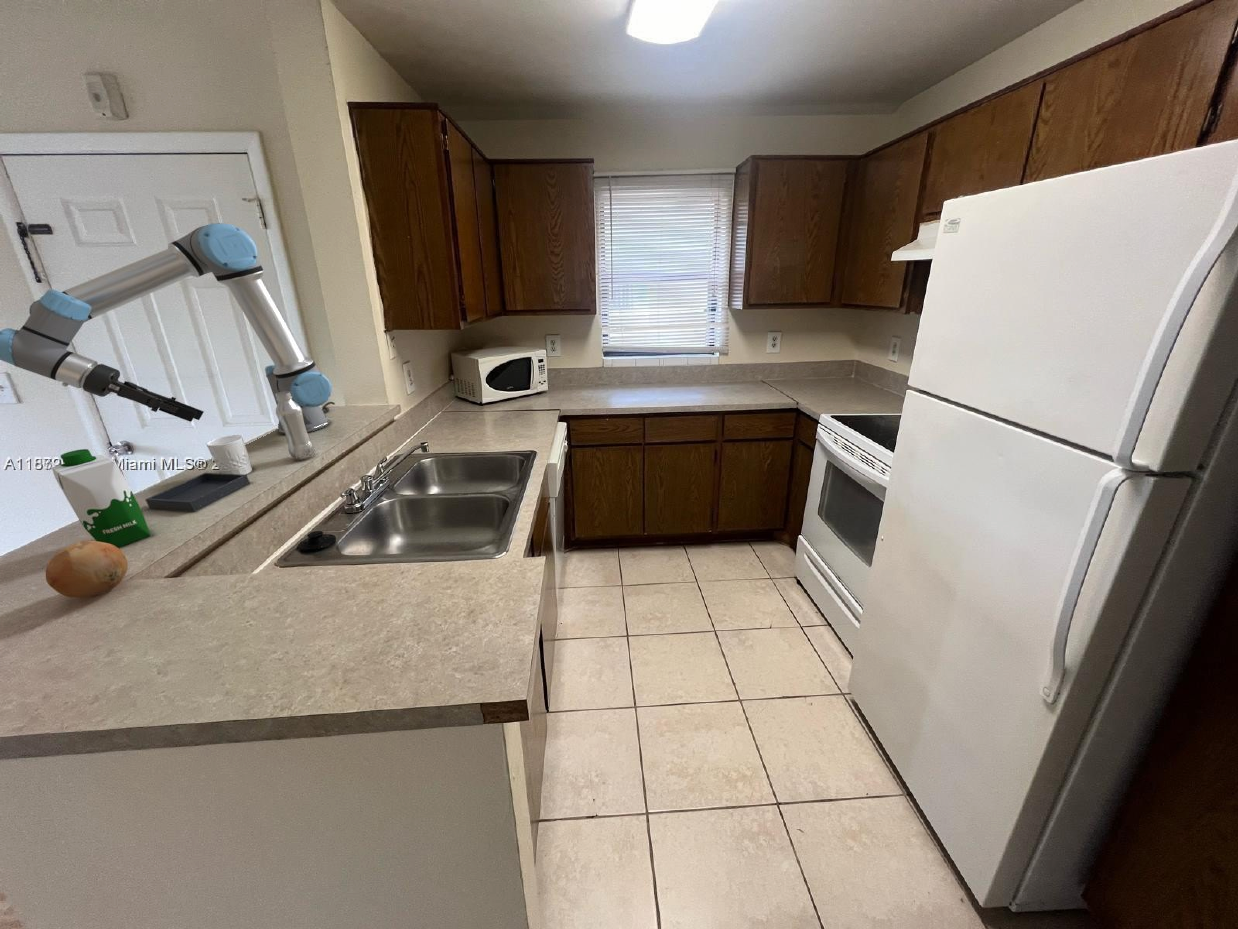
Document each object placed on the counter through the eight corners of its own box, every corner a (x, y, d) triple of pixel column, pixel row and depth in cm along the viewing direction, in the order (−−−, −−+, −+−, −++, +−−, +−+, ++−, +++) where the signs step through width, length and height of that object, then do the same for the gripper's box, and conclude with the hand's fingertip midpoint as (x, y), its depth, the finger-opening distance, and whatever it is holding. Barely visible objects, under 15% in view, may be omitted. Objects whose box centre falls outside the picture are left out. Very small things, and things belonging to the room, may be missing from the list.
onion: (98, 576, 90) (71, 531, 86) (152, 572, 91) (127, 528, 86) (45, 611, 81) (12, 563, 77) (104, 607, 82) (75, 559, 78)
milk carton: (143, 524, 108) (101, 443, 100) (158, 535, 103) (114, 451, 95) (90, 543, 101) (39, 458, 93) (103, 555, 97) (51, 467, 88)
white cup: (241, 479, 129) (227, 445, 125) (213, 479, 129) (198, 445, 125) (261, 467, 136) (249, 434, 132) (235, 467, 136) (221, 435, 132)
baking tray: (209, 481, 128) (205, 472, 127) (250, 483, 126) (246, 474, 125) (149, 508, 115) (144, 499, 114) (194, 511, 113) (190, 502, 112)
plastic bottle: (294, 464, 137) (270, 397, 129) (290, 457, 142) (267, 393, 134) (319, 457, 141) (298, 392, 133) (314, 451, 146) (293, 388, 138)
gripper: (98, 390, 124) (197, 426, 136) (62, 388, 104) (182, 431, 116) (114, 365, 125) (210, 403, 137) (81, 358, 105) (198, 404, 117)
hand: (198, 416), depth 126 cm, fingers open, 13 cm apart
